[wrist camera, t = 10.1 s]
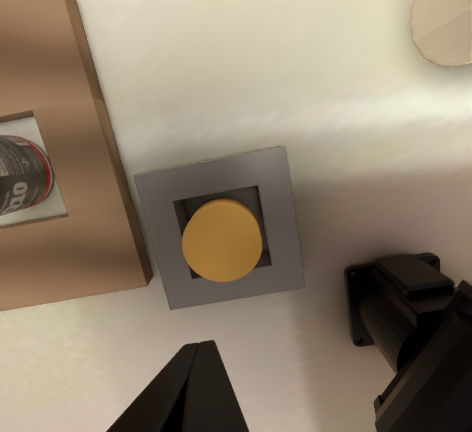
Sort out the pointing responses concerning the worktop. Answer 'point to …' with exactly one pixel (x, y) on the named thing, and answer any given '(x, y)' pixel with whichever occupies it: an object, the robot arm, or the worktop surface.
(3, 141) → the pill bottle
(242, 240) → the button
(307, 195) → the worktop surface
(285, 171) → the button collar
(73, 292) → the brown wooden rectangular frame
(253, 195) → the worktop surface
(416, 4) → the white cup
